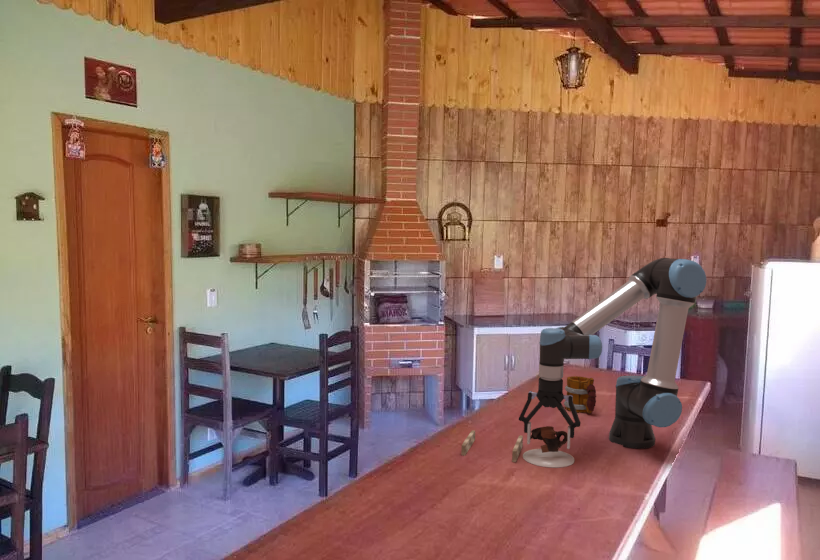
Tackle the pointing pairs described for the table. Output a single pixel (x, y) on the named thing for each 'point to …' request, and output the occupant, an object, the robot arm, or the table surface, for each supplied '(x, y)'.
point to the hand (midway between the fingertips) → (548, 445)
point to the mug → (581, 394)
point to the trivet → (548, 458)
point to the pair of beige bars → (471, 439)
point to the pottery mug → (549, 438)
